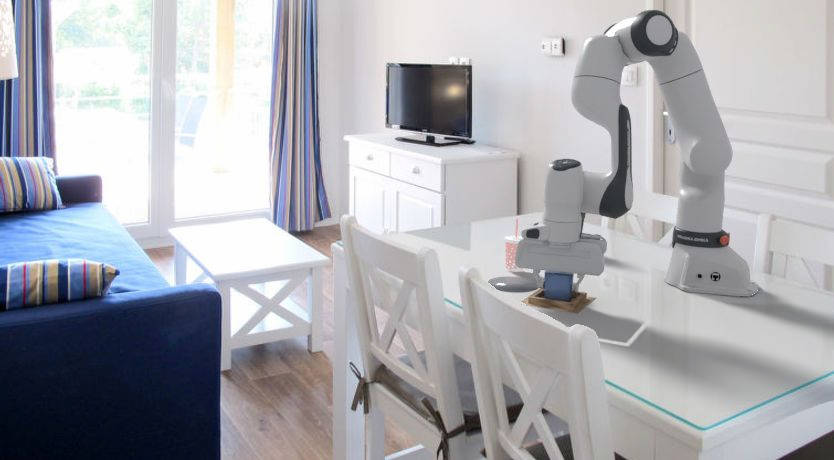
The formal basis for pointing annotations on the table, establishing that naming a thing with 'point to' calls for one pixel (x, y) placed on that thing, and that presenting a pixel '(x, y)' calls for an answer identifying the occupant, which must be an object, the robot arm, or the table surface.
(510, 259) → the beverage cup
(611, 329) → the table surface
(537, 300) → the tray
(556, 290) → the blue cylinder with nub
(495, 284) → the coaster
